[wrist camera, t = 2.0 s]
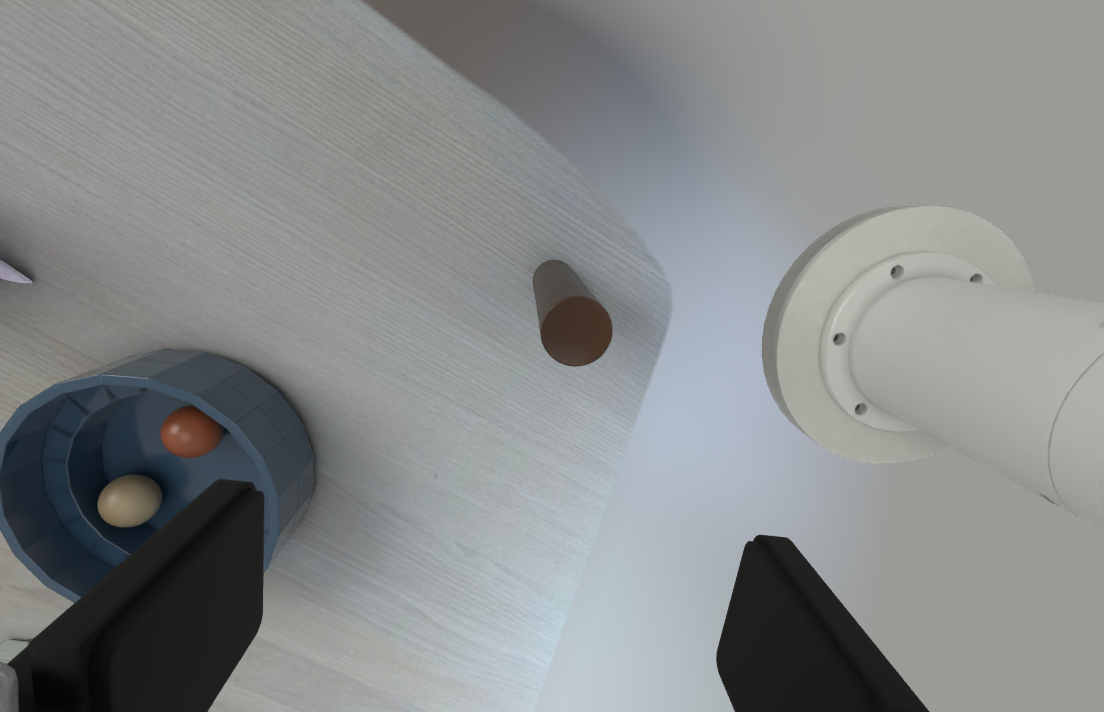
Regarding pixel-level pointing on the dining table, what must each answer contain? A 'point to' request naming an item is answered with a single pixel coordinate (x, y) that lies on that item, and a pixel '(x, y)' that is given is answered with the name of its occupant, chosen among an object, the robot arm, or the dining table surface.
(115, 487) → the bead
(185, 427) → the bead
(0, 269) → the water lily
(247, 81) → the dining table surface
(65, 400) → the bowl
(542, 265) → the stick
